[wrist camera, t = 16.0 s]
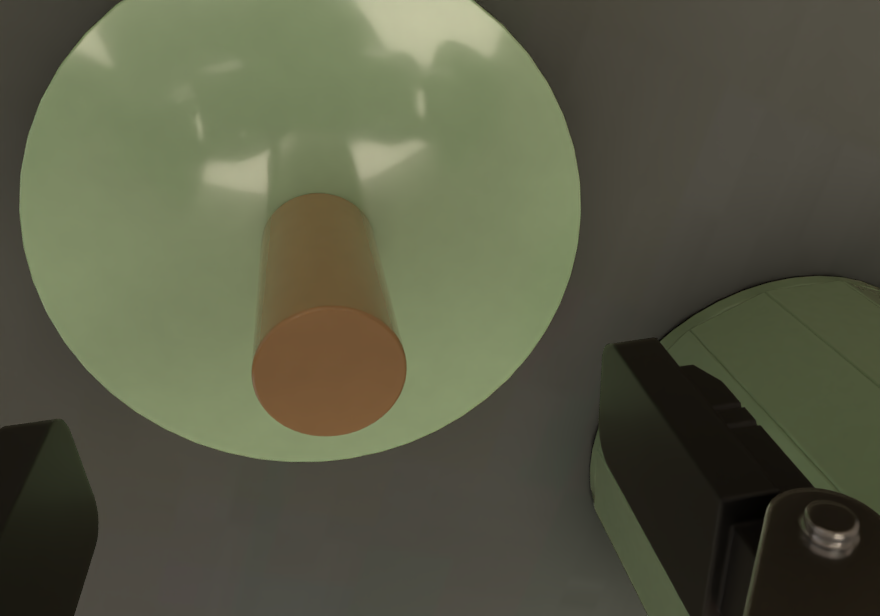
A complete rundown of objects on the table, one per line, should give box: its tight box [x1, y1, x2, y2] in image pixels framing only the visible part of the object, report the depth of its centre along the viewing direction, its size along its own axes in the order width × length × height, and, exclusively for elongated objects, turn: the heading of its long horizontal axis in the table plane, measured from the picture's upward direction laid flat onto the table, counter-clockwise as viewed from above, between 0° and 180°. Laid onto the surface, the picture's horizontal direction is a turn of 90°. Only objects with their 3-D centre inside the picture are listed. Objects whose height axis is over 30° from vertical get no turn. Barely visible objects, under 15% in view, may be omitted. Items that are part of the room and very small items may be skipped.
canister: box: [590, 276, 880, 616], centre depth 20 cm, size 12×12×11 cm
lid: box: [19, 0, 581, 462], centre depth 16 cm, size 13×13×7 cm
